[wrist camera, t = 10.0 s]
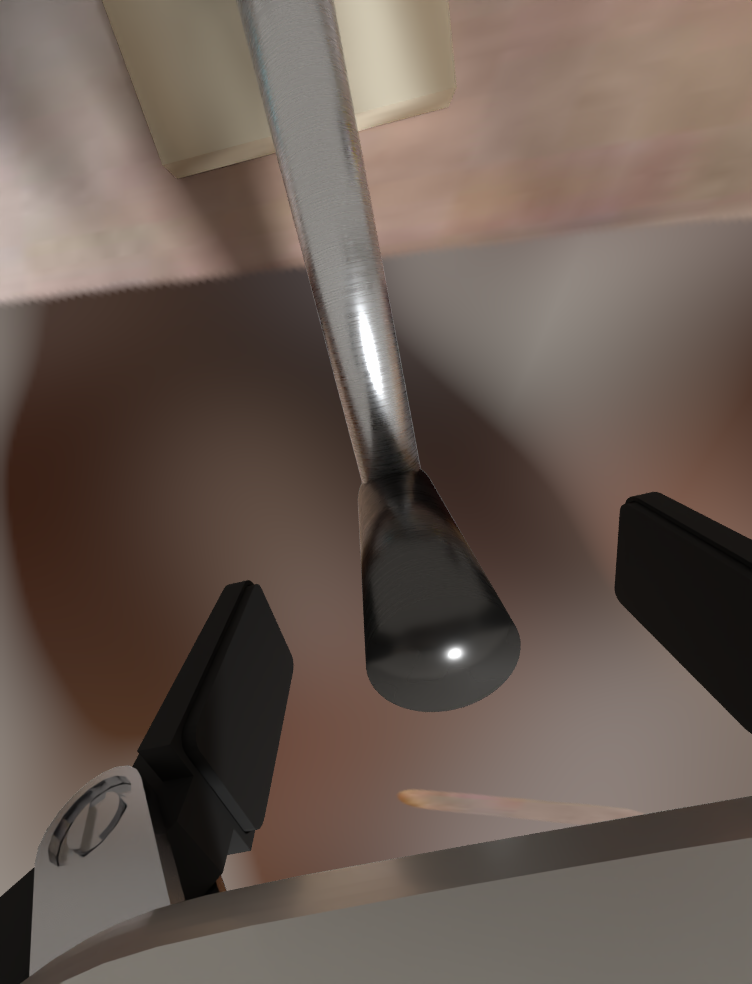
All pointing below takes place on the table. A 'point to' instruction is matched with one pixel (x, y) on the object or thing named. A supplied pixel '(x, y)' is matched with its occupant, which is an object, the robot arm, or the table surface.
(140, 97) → the frame
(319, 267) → the shaft
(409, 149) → the table surface
